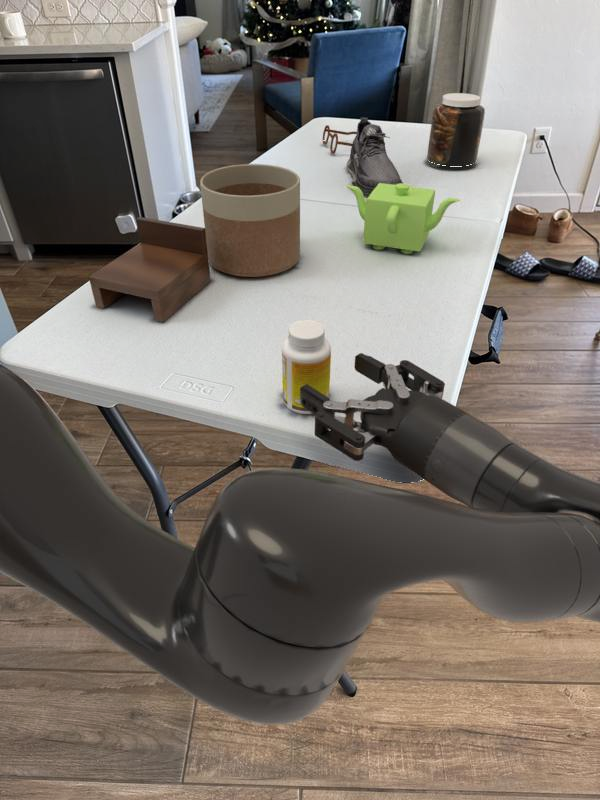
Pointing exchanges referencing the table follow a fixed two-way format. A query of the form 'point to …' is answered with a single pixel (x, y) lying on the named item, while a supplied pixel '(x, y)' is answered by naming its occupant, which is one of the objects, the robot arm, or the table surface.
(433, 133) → the jar
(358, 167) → the shoe
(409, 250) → the teapot
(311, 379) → the supplement bottle
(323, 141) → the glasses
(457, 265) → the table surface
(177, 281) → the shelf
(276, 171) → the planter
